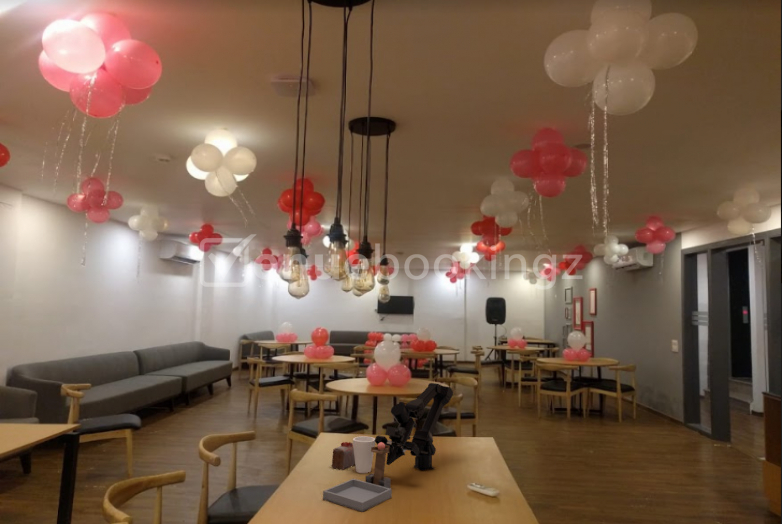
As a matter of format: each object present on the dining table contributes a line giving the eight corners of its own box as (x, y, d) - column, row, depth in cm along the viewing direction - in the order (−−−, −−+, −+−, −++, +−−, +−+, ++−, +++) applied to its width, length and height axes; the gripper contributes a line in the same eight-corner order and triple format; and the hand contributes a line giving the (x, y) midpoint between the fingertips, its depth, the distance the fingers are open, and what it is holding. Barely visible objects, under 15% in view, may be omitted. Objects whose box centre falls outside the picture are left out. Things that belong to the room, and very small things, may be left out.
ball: (382, 450, 205) (383, 442, 206) (386, 451, 203) (387, 443, 203) (375, 449, 204) (376, 441, 204) (379, 450, 201) (380, 442, 202)
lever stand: (371, 485, 205) (372, 473, 206) (390, 490, 200) (390, 478, 200) (365, 488, 202) (365, 476, 202) (384, 493, 197) (384, 481, 197)
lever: (375, 485, 204) (379, 443, 207) (385, 487, 201) (389, 445, 204) (367, 486, 200) (371, 444, 203) (377, 489, 197) (381, 446, 200)
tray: (353, 486, 203) (353, 478, 203) (391, 497, 193) (391, 489, 193) (322, 499, 189) (323, 490, 190) (362, 512, 179) (362, 502, 179)
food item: (347, 459, 238) (347, 437, 238) (362, 462, 234) (362, 439, 235) (329, 468, 225) (330, 444, 226) (345, 471, 222) (346, 447, 223)
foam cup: (371, 475, 217) (372, 442, 218) (349, 473, 219) (350, 441, 220) (376, 468, 226) (377, 437, 227) (355, 466, 228) (356, 435, 229)
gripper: (377, 415, 218) (360, 448, 208) (416, 421, 207) (399, 457, 197) (388, 431, 223) (371, 464, 214) (426, 438, 213) (410, 473, 203)
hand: (387, 464), depth 207 cm, fingers closed
